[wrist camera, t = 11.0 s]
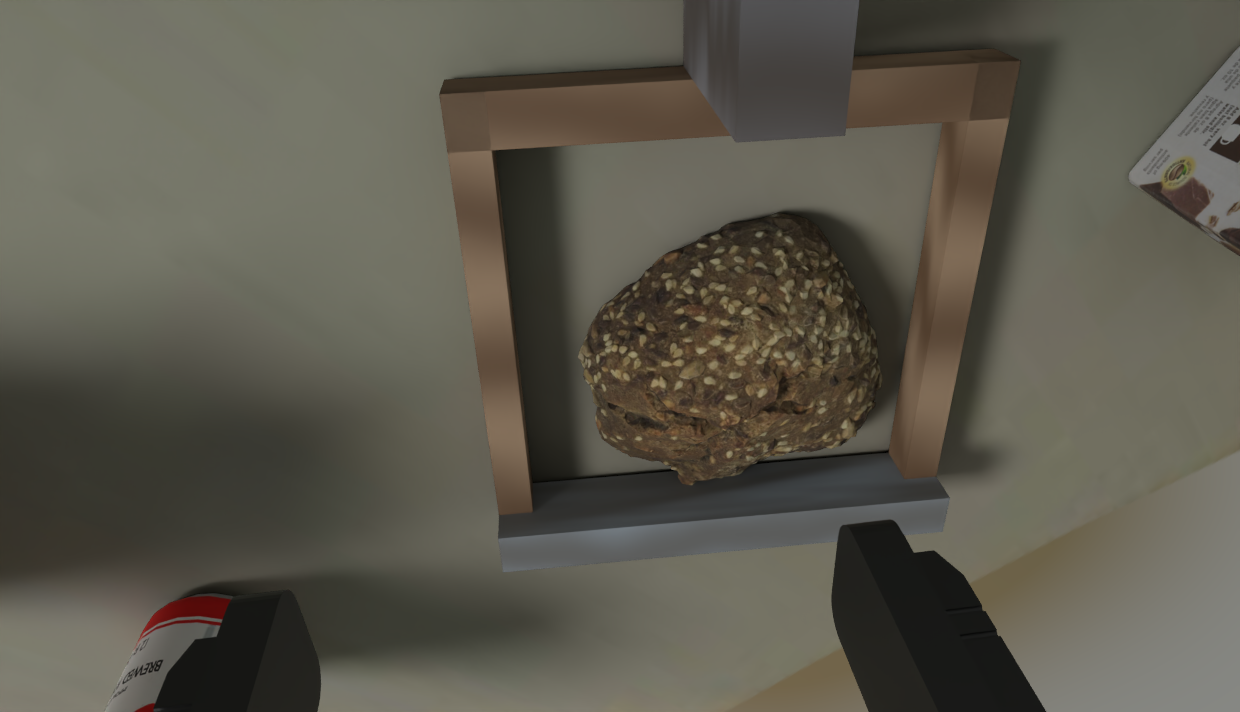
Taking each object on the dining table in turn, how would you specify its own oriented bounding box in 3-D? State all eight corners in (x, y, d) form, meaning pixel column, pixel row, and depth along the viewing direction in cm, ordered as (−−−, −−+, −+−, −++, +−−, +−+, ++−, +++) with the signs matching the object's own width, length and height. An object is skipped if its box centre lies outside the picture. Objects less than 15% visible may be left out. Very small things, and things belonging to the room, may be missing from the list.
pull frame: (427, -46, 28) (389, -1, 20) (1016, -73, 29) (1191, -42, 22) (504, 518, 41) (499, 676, 33) (913, 482, 42) (999, 626, 34)
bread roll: (829, 177, 34) (872, 225, 30) (888, 411, 40) (931, 478, 36) (532, 291, 35) (533, 352, 31) (634, 499, 42) (646, 575, 37)
